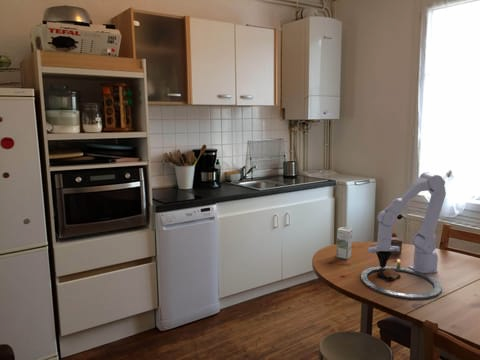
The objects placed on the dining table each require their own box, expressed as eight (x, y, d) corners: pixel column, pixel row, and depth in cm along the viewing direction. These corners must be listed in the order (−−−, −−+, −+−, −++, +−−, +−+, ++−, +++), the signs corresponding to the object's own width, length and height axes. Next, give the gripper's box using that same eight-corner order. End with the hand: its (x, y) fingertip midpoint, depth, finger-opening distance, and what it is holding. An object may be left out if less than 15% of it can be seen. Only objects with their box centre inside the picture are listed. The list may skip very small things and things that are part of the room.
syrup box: (351, 256, 195) (352, 228, 193) (347, 260, 190) (349, 230, 188) (339, 254, 198) (341, 226, 196) (335, 257, 193) (337, 228, 191)
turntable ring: (434, 270, 178) (435, 263, 178) (446, 304, 145) (447, 296, 145) (363, 260, 189) (363, 254, 188) (358, 291, 156) (359, 283, 155)
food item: (380, 247, 210) (381, 229, 209) (395, 247, 210) (397, 229, 208) (387, 256, 197) (389, 236, 195) (404, 256, 196) (405, 237, 195)
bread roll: (385, 271, 178) (385, 264, 177) (403, 277, 172) (404, 269, 171) (373, 278, 170) (374, 270, 170) (392, 284, 164) (393, 275, 164)
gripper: (394, 234, 181) (392, 262, 183) (365, 235, 178) (363, 264, 180) (403, 239, 174) (400, 268, 176) (373, 240, 171) (371, 270, 174)
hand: (382, 266), depth 178 cm, fingers closed
